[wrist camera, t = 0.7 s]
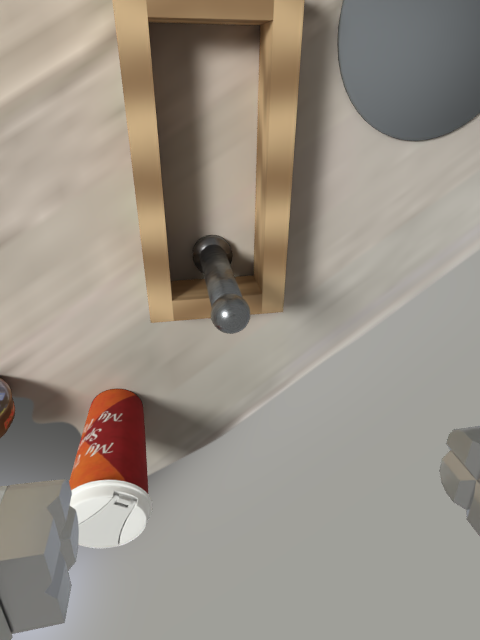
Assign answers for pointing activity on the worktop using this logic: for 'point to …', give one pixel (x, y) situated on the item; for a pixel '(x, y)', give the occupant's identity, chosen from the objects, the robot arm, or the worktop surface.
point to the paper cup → (111, 472)
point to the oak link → (272, 145)
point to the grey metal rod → (221, 284)
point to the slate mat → (411, 64)
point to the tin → (6, 407)
